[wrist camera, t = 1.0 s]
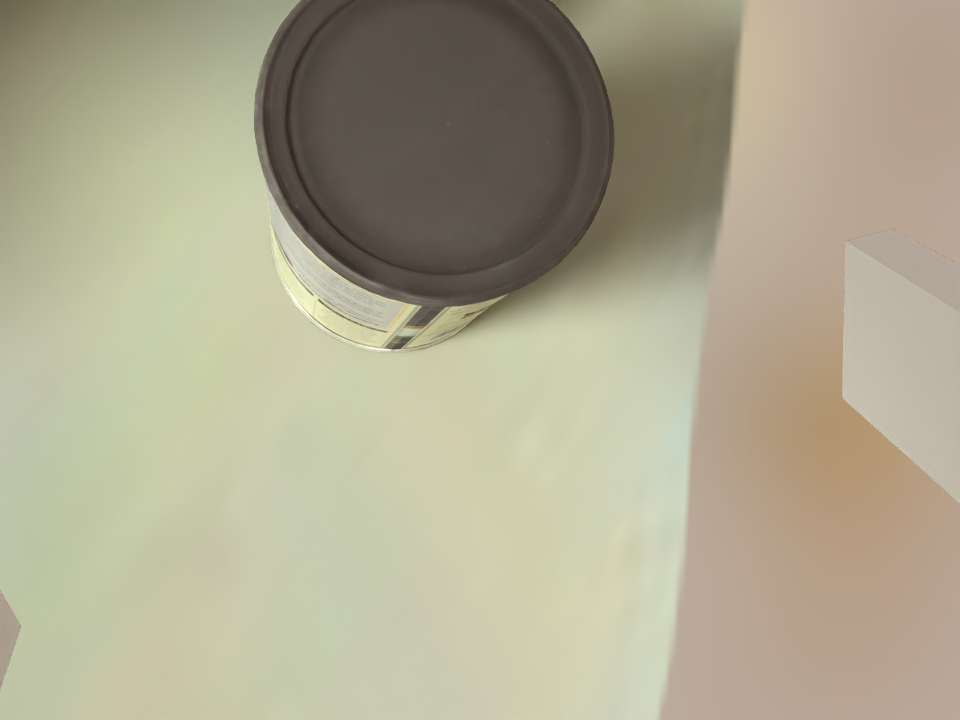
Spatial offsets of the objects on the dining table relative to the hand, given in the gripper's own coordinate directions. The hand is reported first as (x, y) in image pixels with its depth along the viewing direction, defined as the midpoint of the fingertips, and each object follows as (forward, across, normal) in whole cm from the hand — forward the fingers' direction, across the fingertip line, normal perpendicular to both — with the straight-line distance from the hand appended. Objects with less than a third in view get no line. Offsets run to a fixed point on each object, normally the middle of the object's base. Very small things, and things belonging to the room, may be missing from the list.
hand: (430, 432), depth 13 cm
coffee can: (+26, +1, -7) cm, 27 cm away
